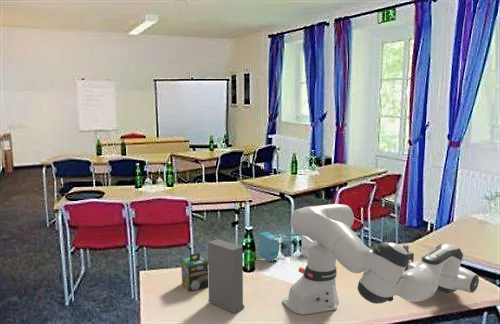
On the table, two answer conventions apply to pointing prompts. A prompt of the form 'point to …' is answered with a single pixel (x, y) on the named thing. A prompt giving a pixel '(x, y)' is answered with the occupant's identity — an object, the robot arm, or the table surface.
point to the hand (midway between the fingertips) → (415, 259)
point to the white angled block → (305, 244)
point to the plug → (409, 255)
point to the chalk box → (194, 272)
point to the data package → (268, 246)
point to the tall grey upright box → (225, 275)
